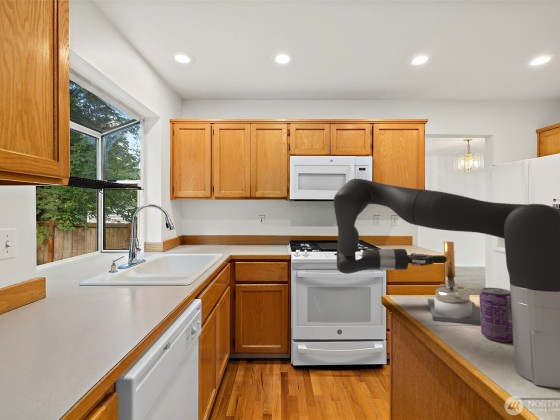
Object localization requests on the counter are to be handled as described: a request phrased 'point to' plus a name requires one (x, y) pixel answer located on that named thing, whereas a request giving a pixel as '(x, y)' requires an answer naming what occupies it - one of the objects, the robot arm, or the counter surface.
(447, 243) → the hub and bar
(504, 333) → the beverage can
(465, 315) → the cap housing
